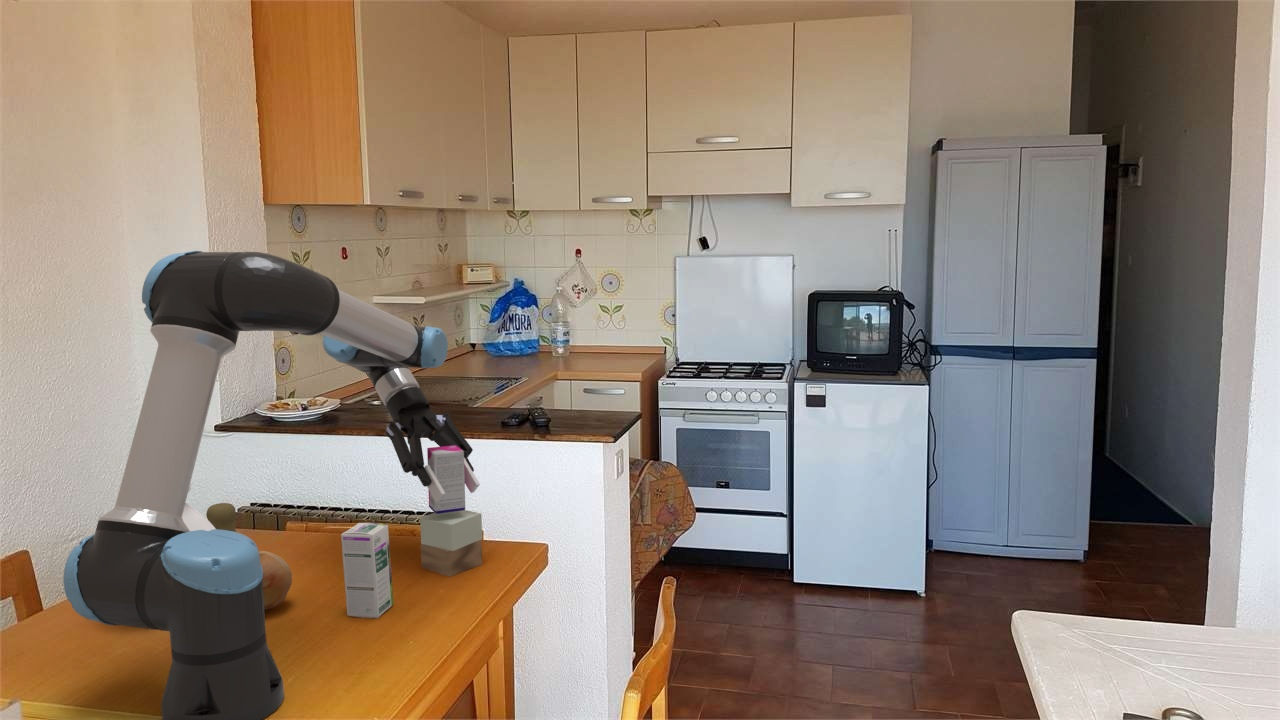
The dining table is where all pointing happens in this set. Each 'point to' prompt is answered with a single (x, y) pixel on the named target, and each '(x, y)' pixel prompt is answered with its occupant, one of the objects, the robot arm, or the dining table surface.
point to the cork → (222, 516)
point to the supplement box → (448, 478)
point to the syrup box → (367, 570)
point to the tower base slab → (451, 558)
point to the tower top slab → (451, 529)
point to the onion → (274, 579)
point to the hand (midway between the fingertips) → (458, 493)
